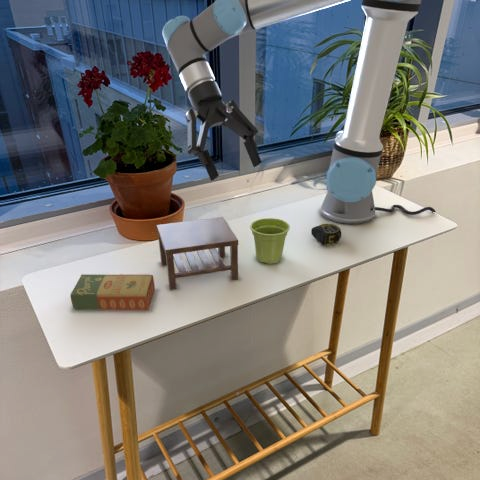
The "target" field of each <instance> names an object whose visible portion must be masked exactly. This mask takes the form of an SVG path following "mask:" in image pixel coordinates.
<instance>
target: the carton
mask: <svg viewBox="0 0 480 480" xmlns="http://www.w3.org/2000/svg"><path fill="white" fill-rule="evenodd" d="M79 276H80V277H79V278H78V280H77V282H76V284H75V286H74V287H73V289H72V291H71V292H70V300H71V304H72V308H73V310H75V311H149V309H150V306H151V303H152V299H153V297H154V294H155V292H156V285H155V277H154V275H153V274H80V275H79Z"/></svg>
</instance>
